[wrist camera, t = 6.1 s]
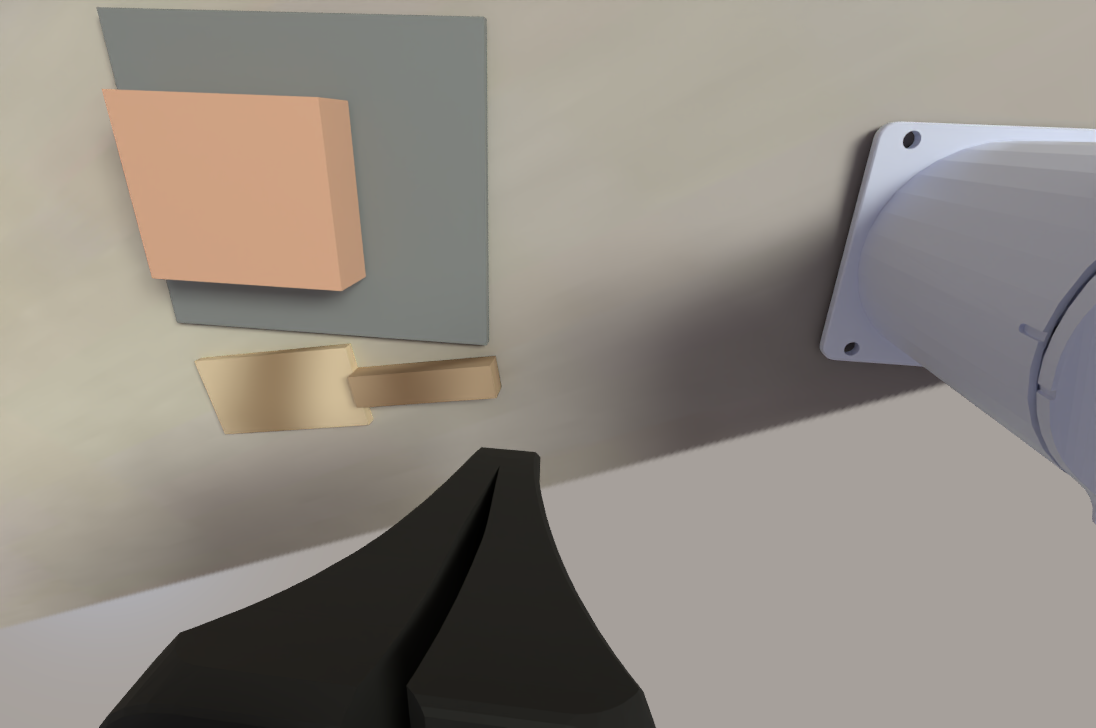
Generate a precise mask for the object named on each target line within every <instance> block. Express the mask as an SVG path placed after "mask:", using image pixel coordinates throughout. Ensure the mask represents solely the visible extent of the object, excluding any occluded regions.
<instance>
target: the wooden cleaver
mask: <svg viewBox="0 0 1096 728" xmlns="http://www.w3.org/2000/svg"><path fill="white" fill-rule="evenodd" d="M194 362H195V364H196V366H197V369H198V371H199V374H200V376H201V378H202V381H203V383H204V385H205V388H206V390H207V392H208V395H209V397H210V400H211V402H212V404H213V407H214V409H215V411H216V414H217V416H218V418H219V421H220V423H221V426H222V428H223V430H224V433H225V434H236V433H252V432H267V431H282V430H298V429H313V428H329V427H344V426H360V425H369V424H370V423H371V422H372V420H373V417H372V413H371V410H370V407H376V406H391V405H405V404H419V403H433V402H448V401H462V400H476V399H490V398H497V396H498V393H499V391H500V389H501V382H500V377H499V372H498V366H497V361H496V356H490V357H478V358H466V359H454V360H442V361H430V362H418V363H406V364H394V365H383V366H372V367H360V368H358V366H357V363H356V360H355V356H354V353H353V350H352V346H351V344H341V345H330V346H320V347H310V348H299V349H289V350H279V351H268V352H258V353H248V354H237V355H227V356H216V357H206V358H200V359H198V360H196V361H194Z"/></svg>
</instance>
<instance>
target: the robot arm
mask: <svg viewBox="0 0 1096 728" xmlns="http://www.w3.org/2000/svg"><path fill="white" fill-rule="evenodd" d="M910 131H911V132H913V134H914V135H915V138H914V142H913V144H912V145H911V146H909V147H908V148H905V147H904V145H903V138H904V137H905V135H906V134H907V133H909V132H910ZM851 342H855V346H854V348H853V349H852V350H850V351H847V352H845V351H844V348H845V346H846V345H847V344H848V343H851ZM820 350H821V352H822V353H823V355H824V356H826V357H827V358H828V359H831V360H840V361H854V362H867V363H881V364H895V365H909V366H923V367H925V368H926V369H927V370H929V371H930V372H931V373H933V374H934V375H935V376H937V377H938V378H939V379H941V380H942V381H943V382H945V383H946V384H947V385H949V386H950V387H951V388H953V389H954V390H955V391H957V392H958V393H960V394H961V395H962V396H964V397H965V398H966V399H967V400H969V401H970V402H972V403H973V404H974V405H975V406H977V407H978V408H980V409H981V410H982V411H984V412H985V413H986V414H988V415H989V416H990V417H992V418H993V419H994V420H996V421H997V422H998V423H1000V424H1001V425H1002V426H1004V427H1005V428H1006V429H1008V430H1009V431H1010V432H1012V433H1013V434H1014V435H1016V436H1017V437H1019V438H1020V439H1021V440H1022V441H1024V442H1025V443H1026V444H1028V445H1029V446H1030V447H1032V448H1033V449H1034V450H1036V451H1037V452H1038V453H1040V454H1041V455H1042V456H1044V457H1045V458H1047V459H1048V460H1049V461H1051V462H1052V463H1053V464H1055V465H1056V466H1057V467H1059V468H1060V469H1061V470H1063V471H1064V472H1066V473H1067V474H1069V475H1070V476H1071V477H1072V478H1073V479H1075V480H1076V481H1077V482H1078V483H1079V484H1080V485H1081V486H1082V487H1083V488H1084V489H1085V490H1086V492H1087V493H1088V495H1089V497H1090V499H1091V502H1092V506H1093V515H1092V520H1093V522H1094V523H1095V524H1096V129H1082V128H1056V127H1029V126H1003V125H976V124H950V123H924V122H890V123H887V124H885V125H883V126H881V127H880V128H879V129H878V131H877V132H876V134H875V136H874V138H873V142H872V145H871V149H870V153H869V157H868V161H867V165H866V168H865V172H864V176H863V180H862V184H861V188H860V191H859V195H858V199H857V203H856V207H855V211H854V214H853V218H852V222H851V226H850V230H849V234H848V237H847V241H846V245H845V249H844V253H843V257H842V260H841V264H840V268H839V272H838V276H837V280H836V284H835V287H834V291H833V295H832V299H831V303H830V307H829V310H828V314H827V318H826V322H825V326H824V330H823V333H822V337H821V341H820ZM539 480H540V456H539V455H538V454H537V453H536V452H528V451H516V450H505V449H494V448H483V447H481V448H480V449H479V450H478V451H476V452H475V453H474V454H473V455H472V456H471V457H470V458H469V459H468V460H467V461H466V462H465V463H464V464H463V465H462V466H461V467H460V468H459V469H458V470H457V471H456V472H455V473H454V474H453V475H452V476H451V477H450V478H449V479H448V480H447V481H446V482H445V483H444V484H443V485H442V486H441V487H439V488H438V489H437V490H436V491H435V492H434V493H433V494H432V495H431V496H430V497H429V498H427V499H426V500H425V501H424V502H423V503H422V504H420V505H419V506H418V507H417V508H415V509H414V510H413V511H412V512H410V513H409V514H408V515H407V516H406V517H404V518H403V519H402V520H401V521H399V522H398V523H397V524H396V525H394V526H393V527H392V528H390V529H389V530H388V531H386V532H385V533H383V534H382V535H381V536H379V537H378V538H376V539H375V540H373V541H372V542H370V543H369V544H367V545H366V546H364V547H363V548H361V549H359V550H358V551H356V552H355V553H353V554H351V555H349V556H348V557H346V558H344V559H342V560H341V561H339V562H337V563H335V564H334V565H332V566H330V567H328V568H326V569H325V570H323V571H321V572H319V573H318V574H316V575H314V576H312V577H310V578H308V579H306V580H304V581H302V582H300V583H298V584H296V585H294V586H292V587H290V588H288V589H286V590H284V591H282V592H280V593H277V594H275V595H273V596H271V597H269V598H266V599H264V600H262V601H260V602H258V603H255V604H253V605H251V606H248V607H246V608H244V609H241V610H238V611H236V612H233V613H231V614H228V615H225V616H223V617H220V618H218V619H215V620H213V621H210V622H207V623H205V624H202V625H200V626H197V627H195V628H192V629H189V630H186V631H183V632H181V633H179V634H178V635H177V636H176V637H175V639H174V640H173V641H172V642H171V643H170V644H169V645H168V646H167V647H166V648H165V649H164V650H163V652H162V653H161V654H160V655H159V656H158V657H157V658H156V659H155V661H154V662H153V663H152V664H151V665H150V667H149V668H148V669H147V670H146V671H145V672H144V674H143V675H142V676H141V677H140V678H139V679H138V681H137V682H136V683H135V684H134V685H133V687H132V688H131V689H130V690H129V691H128V692H127V694H126V695H125V696H124V697H123V698H122V700H121V701H120V702H119V703H118V704H117V705H116V707H115V708H114V709H113V710H112V711H111V713H110V714H109V715H108V716H107V717H106V719H105V720H104V721H103V723H102V724H101V725H100V727H99V728H656V727H655V724H654V721H653V718H652V715H651V712H650V709H649V706H648V704H647V701H646V698H645V695H644V692H643V691H642V689H641V688H640V687H639V686H638V684H637V683H636V682H635V681H634V679H633V678H632V677H631V675H630V674H629V673H628V672H627V670H626V669H625V667H624V666H623V665H622V664H621V662H620V661H619V659H618V658H617V657H616V655H615V654H614V652H613V651H612V649H611V648H610V647H609V645H608V643H607V642H606V640H605V639H604V638H603V636H602V635H601V633H600V632H599V630H598V628H597V627H596V625H595V623H594V621H593V620H592V618H591V616H590V615H589V613H588V611H587V610H586V608H585V606H584V604H583V603H582V601H581V599H580V597H579V596H578V594H577V592H576V590H575V588H574V586H573V584H572V582H571V580H570V578H569V576H568V573H567V571H566V569H565V567H564V564H563V562H562V560H561V557H560V555H559V553H558V550H557V547H556V545H555V542H554V539H553V536H552V533H551V530H550V527H549V524H548V520H547V517H546V513H545V508H544V504H543V500H542V496H541V490H540V483H539Z"/></svg>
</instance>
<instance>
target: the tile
mask: <svg viewBox="0 0 1096 728" xmlns="http://www.w3.org/2000/svg"><path fill="white" fill-rule="evenodd" d="M102 91H103V95H104V99H105V103H106V106H107V110H108V114H109V118H110V122H111V125H112V129H113V133H114V137H115V140H116V144H117V148H118V152H119V155H120V159H121V163H122V167H123V170H124V174H125V178H126V182H127V185H128V189H129V193H130V197H131V200H132V204H133V208H134V212H135V215H136V219H137V223H138V227H139V230H140V234H141V238H142V242H143V245H144V249H145V253H146V257H147V261H148V264H149V268H150V272H151V276H152V278H155V279H170V280H185V281H200V282H214V283H229V284H244V285H259V286H274V287H289V288H303V289H318V290H333V291H343V290H344V289H346V288H348V287H349V286H351V285H353V284H355V283H356V282H358V281H360V280H361V279H363V278H365V277H366V273H365V264H364V254H363V244H362V234H361V224H360V214H359V205H358V195H357V185H356V175H355V165H354V155H353V146H352V136H351V126H350V116H349V106H348V101H346V100H338V99H330V98H321V97H301V96H275V95H248V94H221V93H195V92H168V91H141V90H115V89H102Z"/></svg>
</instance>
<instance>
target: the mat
mask: <svg viewBox="0 0 1096 728" xmlns="http://www.w3.org/2000/svg"><path fill="white" fill-rule="evenodd" d="M96 8H97V11H98V15H99V19H100V23H101V27H102V31H103V35H104V39H105V43H106V47H107V51H108V54H109V58H110V62H111V66H112V70H113V74H114V78H115V82H116V86H117V90H141V91H168V92H195V93H221V94H248V95H275V96H301V97H321V98H330V99H338V100H346V101H348V106H349V116H350V126H351V136H352V146H353V155H354V165H355V175H356V185H357V195H358V205H359V214H360V224H361V234H362V244H363V254H364V264H365V273H366V277H365V278H363V279H361V280H360V281H358V282H356V283H355V284H353V285H351V286H349V287H348V288H346V289H344V290H343V291H333V290H318V289H303V288H289V287H274V286H259V285H244V284H229V283H214V282H200V281H185V280H170V279H166V281H167V285H168V289H169V293H170V297H171V301H172V305H173V309H174V313H175V316H176V320H177V322H179V323H192V324H206V325H219V326H232V327H246V328H259V329H273V330H286V331H300V332H313V333H327V334H340V335H354V336H367V337H381V338H394V339H408V340H421V341H435V342H448V343H462V344H475V345H487V344H488V342H489V292H488V159H487V26H486V18H484V17H469V16H428V15H387V14H346V13H306V12H265V11H224V10H183V9H142V8H101V7H96Z"/></svg>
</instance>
